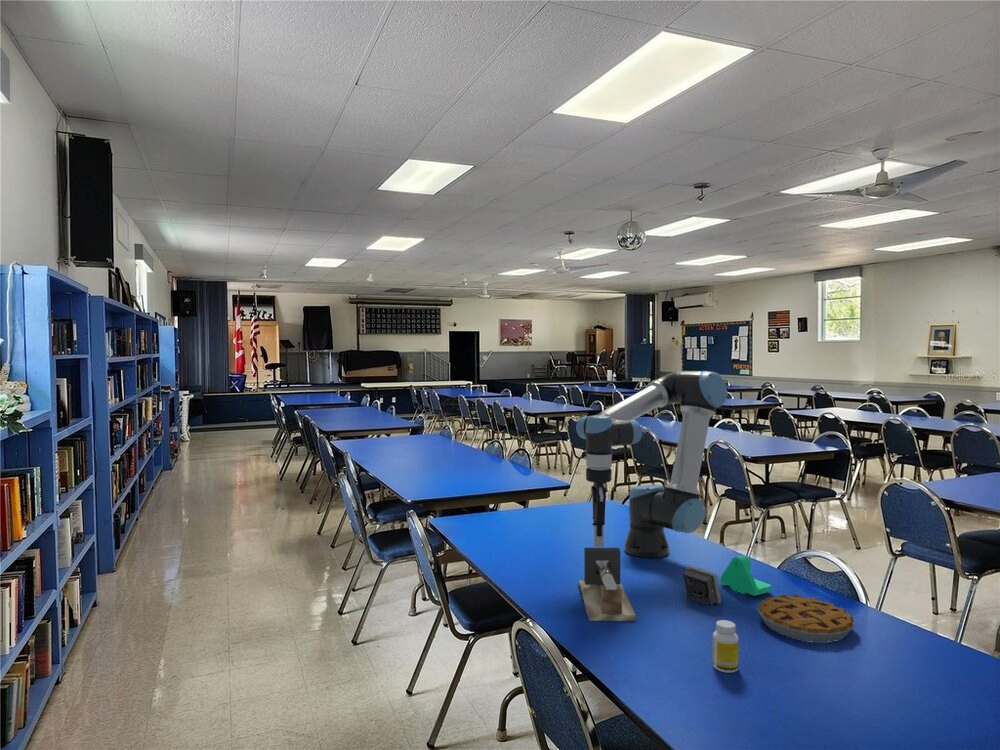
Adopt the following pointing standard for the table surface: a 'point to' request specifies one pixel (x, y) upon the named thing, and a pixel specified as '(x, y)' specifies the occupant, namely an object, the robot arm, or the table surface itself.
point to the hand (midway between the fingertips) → (598, 545)
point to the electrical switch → (701, 585)
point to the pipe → (606, 576)
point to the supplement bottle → (725, 647)
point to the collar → (601, 555)
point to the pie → (805, 618)
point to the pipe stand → (606, 603)
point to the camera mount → (743, 577)
